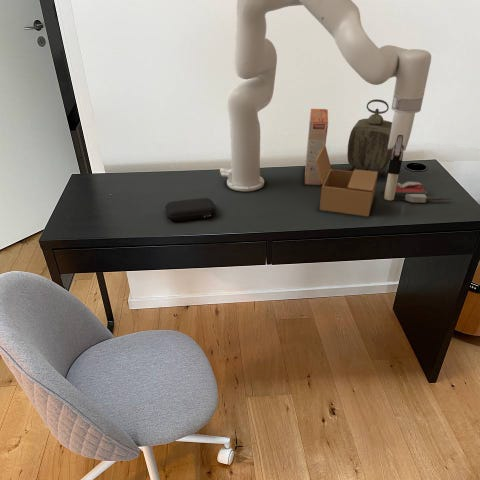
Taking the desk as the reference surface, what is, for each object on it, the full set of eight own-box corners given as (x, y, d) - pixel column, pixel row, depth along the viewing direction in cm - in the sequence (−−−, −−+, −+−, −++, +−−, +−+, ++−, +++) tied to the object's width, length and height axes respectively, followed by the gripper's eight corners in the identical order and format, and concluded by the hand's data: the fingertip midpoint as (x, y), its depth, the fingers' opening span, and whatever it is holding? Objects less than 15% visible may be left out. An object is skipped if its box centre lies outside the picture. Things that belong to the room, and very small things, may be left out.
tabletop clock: (390, 174, 173) (404, 98, 157) (384, 184, 166) (399, 106, 150) (349, 167, 177) (359, 93, 162) (342, 177, 171) (352, 101, 155)
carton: (319, 210, 152) (322, 183, 146) (327, 192, 162) (330, 166, 157) (368, 217, 148) (373, 190, 143) (373, 198, 158) (378, 171, 153)
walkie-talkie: (386, 203, 155) (450, 204, 155) (388, 190, 153) (454, 191, 152) (381, 191, 162) (443, 192, 161) (383, 178, 159) (446, 179, 159)
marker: (383, 199, 146) (391, 152, 137) (384, 195, 148) (392, 148, 139) (393, 200, 145) (403, 153, 136) (394, 196, 148) (403, 150, 139)
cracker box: (322, 186, 166) (328, 122, 152) (304, 185, 166) (309, 121, 153) (322, 169, 176) (328, 108, 163) (305, 168, 177) (310, 107, 164)
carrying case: (169, 225, 145) (218, 219, 148) (168, 216, 143) (218, 210, 146) (164, 209, 153) (211, 204, 156) (163, 200, 151) (211, 195, 154)
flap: (322, 184, 147) (321, 184, 147) (330, 166, 157) (329, 166, 157) (316, 160, 143) (315, 160, 143) (325, 144, 153) (324, 144, 153)
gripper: (394, 94, 137) (383, 159, 148) (389, 111, 125) (377, 180, 136) (423, 96, 135) (409, 161, 147) (420, 113, 123) (405, 184, 135)
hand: (394, 170), depth 141 cm, fingers closed on marker, 3 cm apart
